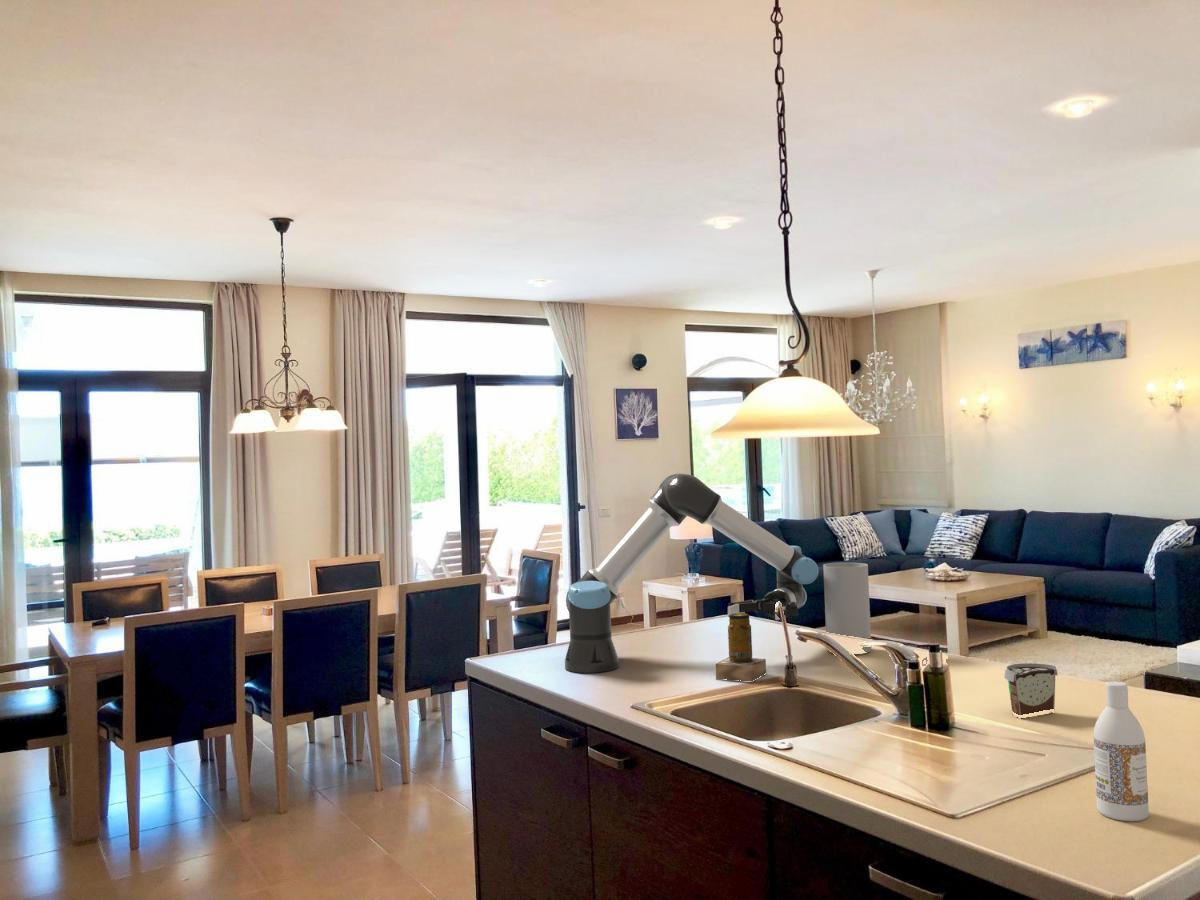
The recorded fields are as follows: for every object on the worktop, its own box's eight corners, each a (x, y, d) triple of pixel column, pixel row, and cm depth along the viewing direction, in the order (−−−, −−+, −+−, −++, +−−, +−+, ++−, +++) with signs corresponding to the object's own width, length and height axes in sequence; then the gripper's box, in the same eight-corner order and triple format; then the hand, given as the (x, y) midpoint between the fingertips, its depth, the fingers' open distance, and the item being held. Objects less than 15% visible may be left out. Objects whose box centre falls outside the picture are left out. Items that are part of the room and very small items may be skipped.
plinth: (716, 679, 242) (715, 663, 242) (730, 671, 250) (730, 655, 250) (752, 682, 237) (751, 665, 237) (766, 674, 245) (765, 658, 245)
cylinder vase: (823, 647, 277) (819, 563, 277) (865, 646, 276) (861, 561, 277) (831, 656, 264) (828, 568, 265) (876, 655, 264) (872, 566, 264)
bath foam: (1128, 826, 139) (1121, 691, 139) (1087, 811, 145) (1080, 681, 145) (1159, 817, 141) (1152, 684, 142) (1118, 802, 148) (1111, 676, 148)
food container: (1036, 706, 205) (1034, 660, 206) (1059, 712, 200) (1057, 665, 200) (992, 713, 201) (990, 666, 201) (1015, 720, 195) (1012, 672, 195)
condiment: (739, 656, 249) (737, 611, 249) (764, 660, 243) (762, 614, 243) (721, 661, 244) (719, 615, 244) (746, 665, 238) (744, 618, 238)
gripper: (821, 618, 265) (797, 630, 247) (739, 613, 278) (710, 624, 260) (820, 591, 265) (796, 602, 247) (738, 587, 278) (709, 597, 260)
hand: (752, 613), depth 253 cm, fingers open, 13 cm apart
